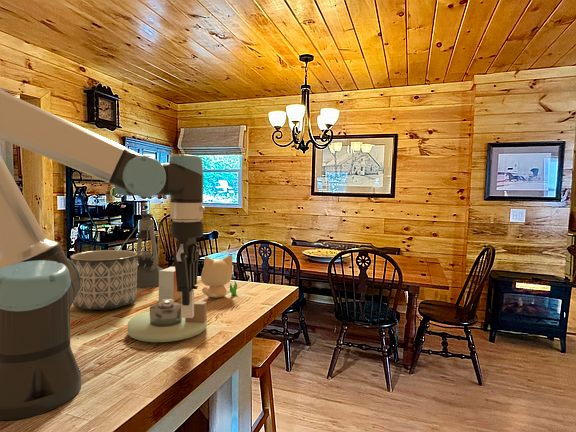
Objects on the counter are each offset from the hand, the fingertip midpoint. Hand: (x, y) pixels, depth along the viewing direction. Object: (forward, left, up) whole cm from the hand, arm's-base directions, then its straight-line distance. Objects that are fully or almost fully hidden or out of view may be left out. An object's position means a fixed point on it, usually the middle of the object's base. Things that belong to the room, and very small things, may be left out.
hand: (187, 316), depth 90 cm
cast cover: (+6, +8, -4) cm, 11 cm away
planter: (+27, +36, -7) cm, 45 cm away
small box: (+37, +18, -7) cm, 42 cm away
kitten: (+42, +3, -7) cm, 43 cm away
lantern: (+56, +37, -7) cm, 67 cm away
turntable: (+8, +8, -7) cm, 13 cm away
